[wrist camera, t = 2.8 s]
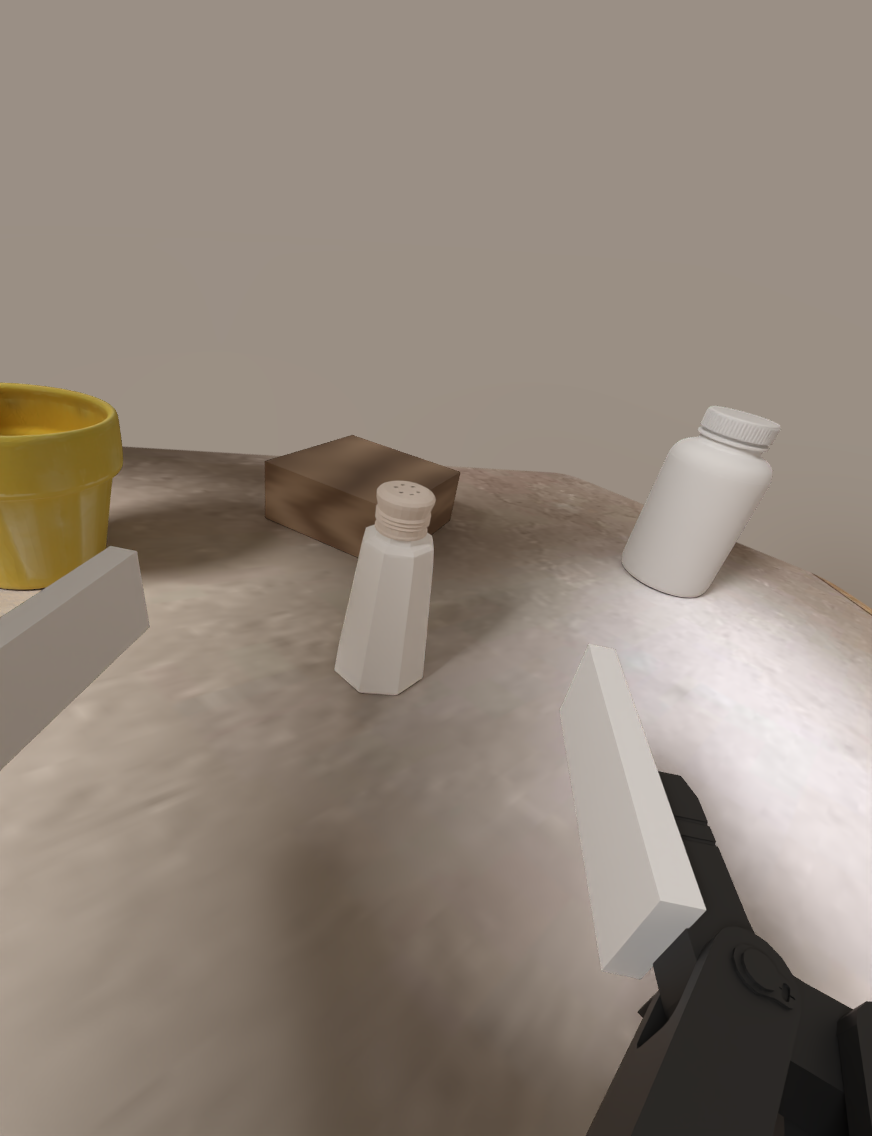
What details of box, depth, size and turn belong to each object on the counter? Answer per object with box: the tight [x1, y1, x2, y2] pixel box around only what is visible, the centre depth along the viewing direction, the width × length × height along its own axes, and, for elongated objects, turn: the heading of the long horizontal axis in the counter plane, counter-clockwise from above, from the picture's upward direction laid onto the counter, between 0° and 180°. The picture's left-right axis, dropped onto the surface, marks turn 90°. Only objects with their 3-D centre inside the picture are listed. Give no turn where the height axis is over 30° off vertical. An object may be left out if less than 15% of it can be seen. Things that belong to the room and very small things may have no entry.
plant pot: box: [0, 383, 123, 590], centre depth 28 cm, size 10×10×10 cm
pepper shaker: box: [334, 481, 436, 695], centre depth 25 cm, size 5×5×11 cm
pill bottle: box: [621, 406, 781, 597], centre depth 41 cm, size 8×8×15 cm
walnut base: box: [265, 435, 460, 557], centre depth 42 cm, size 12×12×5 cm
